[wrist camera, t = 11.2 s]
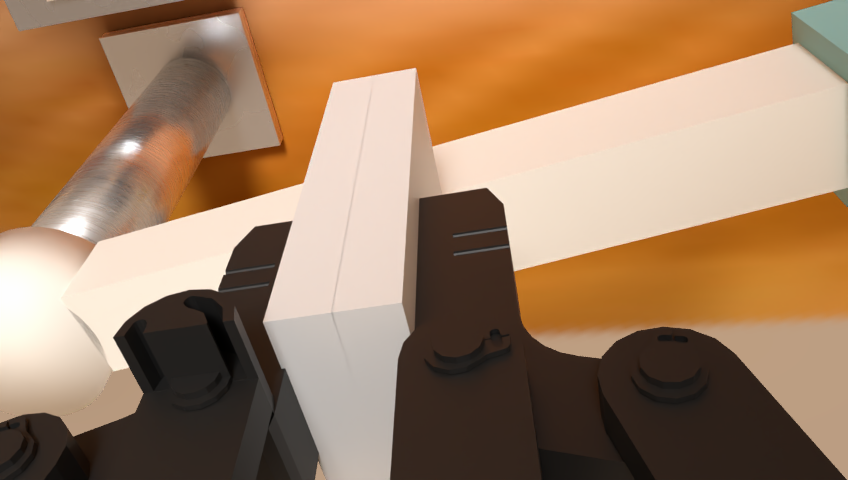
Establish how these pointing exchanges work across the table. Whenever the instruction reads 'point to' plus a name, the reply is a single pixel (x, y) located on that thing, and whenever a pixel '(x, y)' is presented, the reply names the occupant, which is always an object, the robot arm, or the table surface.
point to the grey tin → (69, 10)
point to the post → (167, 122)
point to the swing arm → (462, 171)
